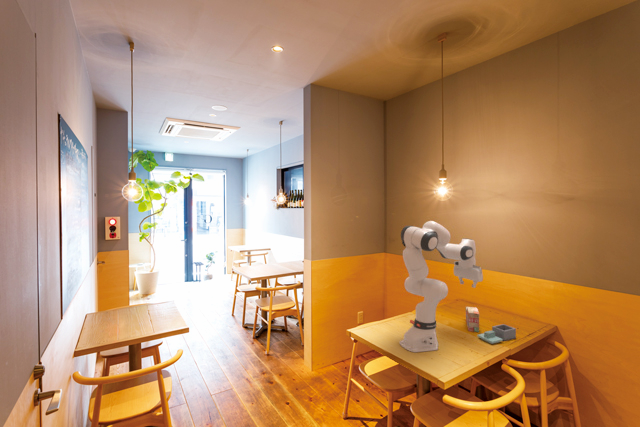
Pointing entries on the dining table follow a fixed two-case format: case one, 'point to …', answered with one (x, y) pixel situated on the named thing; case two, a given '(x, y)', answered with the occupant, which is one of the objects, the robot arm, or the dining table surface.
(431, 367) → the dining table surface
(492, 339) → the lid
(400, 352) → the dining table surface
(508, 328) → the storage box
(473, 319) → the stack of blocks
